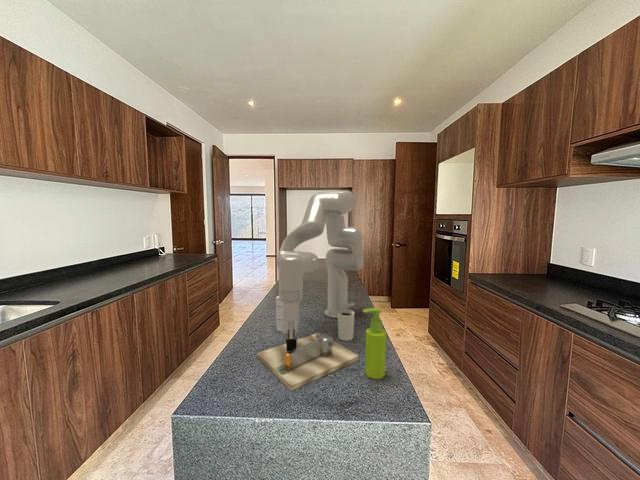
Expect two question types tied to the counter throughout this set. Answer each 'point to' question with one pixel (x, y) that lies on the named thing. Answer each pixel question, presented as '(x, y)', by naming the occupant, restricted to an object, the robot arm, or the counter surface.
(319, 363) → the dial board
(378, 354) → the soap dispenser
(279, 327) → the syrup box
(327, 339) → the lever
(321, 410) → the counter surface
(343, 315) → the white cup
